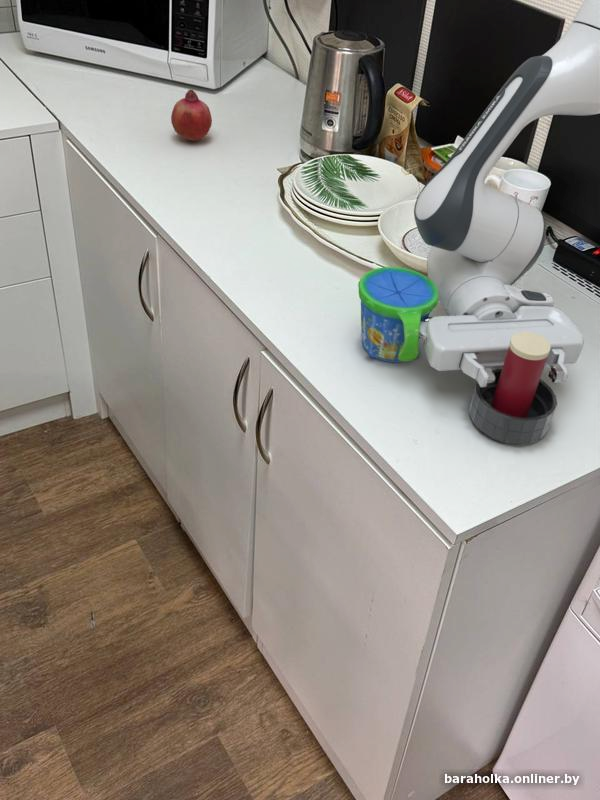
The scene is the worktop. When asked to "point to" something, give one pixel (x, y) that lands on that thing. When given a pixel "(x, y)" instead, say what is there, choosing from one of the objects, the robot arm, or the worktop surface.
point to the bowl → (511, 426)
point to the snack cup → (394, 311)
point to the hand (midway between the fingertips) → (525, 380)
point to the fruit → (191, 117)
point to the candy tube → (521, 374)
